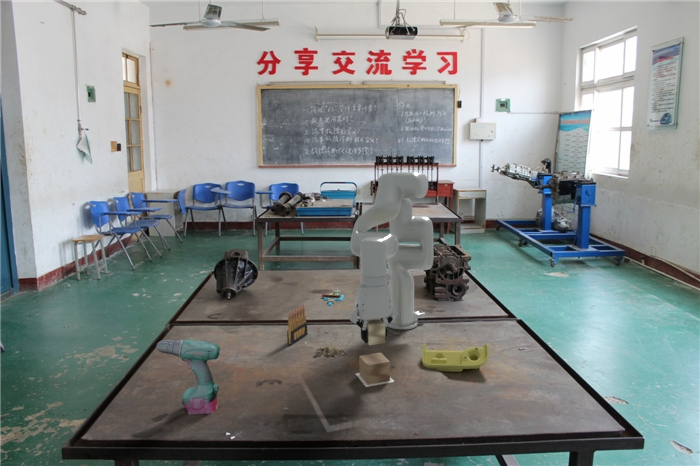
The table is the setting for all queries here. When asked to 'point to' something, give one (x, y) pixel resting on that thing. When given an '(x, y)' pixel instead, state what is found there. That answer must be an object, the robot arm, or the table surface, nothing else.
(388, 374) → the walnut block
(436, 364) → the plastic component
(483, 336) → the table surface
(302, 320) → the ammunition clip
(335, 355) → the mineral rock
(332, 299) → the gear mechanism
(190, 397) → the power drill
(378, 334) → the maple block
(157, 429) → the table surface
